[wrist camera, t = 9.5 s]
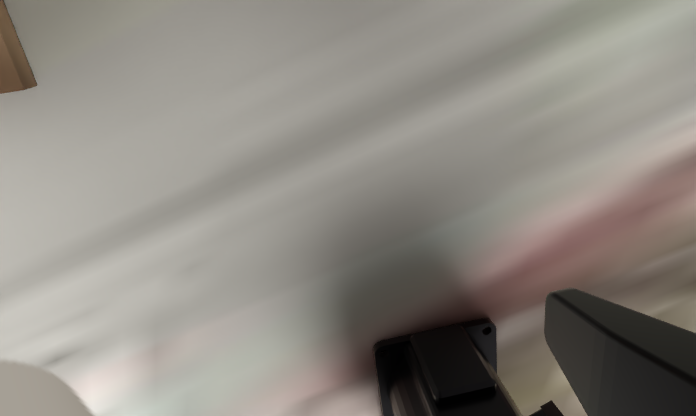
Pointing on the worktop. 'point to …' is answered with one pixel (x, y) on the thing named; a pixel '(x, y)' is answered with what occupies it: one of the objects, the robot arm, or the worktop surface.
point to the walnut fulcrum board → (12, 58)
